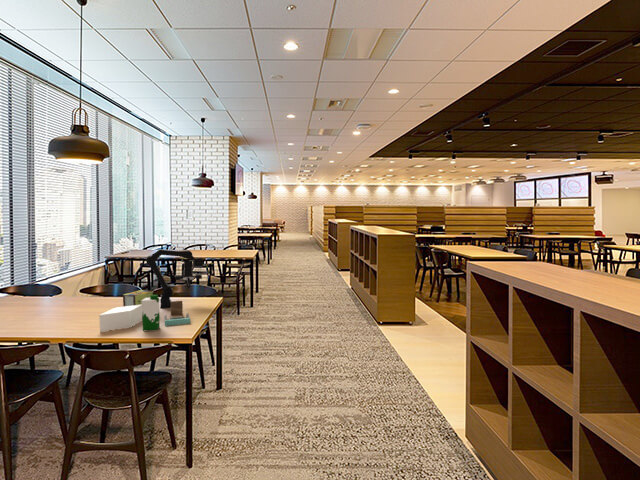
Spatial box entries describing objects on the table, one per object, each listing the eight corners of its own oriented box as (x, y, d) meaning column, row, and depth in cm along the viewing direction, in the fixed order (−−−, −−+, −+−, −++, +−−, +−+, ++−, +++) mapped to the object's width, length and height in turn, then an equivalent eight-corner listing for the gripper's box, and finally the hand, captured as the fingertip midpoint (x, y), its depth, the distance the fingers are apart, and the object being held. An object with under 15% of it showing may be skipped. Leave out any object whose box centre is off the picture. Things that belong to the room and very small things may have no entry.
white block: (151, 321, 246) (151, 305, 246) (108, 334, 221) (107, 316, 220) (135, 318, 253) (135, 302, 252) (92, 330, 227) (91, 313, 227)
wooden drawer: (170, 318, 254) (169, 301, 253) (183, 317, 257) (183, 300, 256) (169, 324, 241) (168, 306, 240) (183, 323, 244) (182, 305, 243)
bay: (164, 319, 251) (164, 314, 250) (188, 317, 256) (188, 312, 256) (165, 325, 237) (164, 320, 237) (190, 323, 242) (190, 318, 242)
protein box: (153, 313, 264) (153, 290, 263) (136, 319, 250) (135, 295, 249) (141, 312, 268) (140, 289, 266) (123, 318, 253) (122, 294, 252)
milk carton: (156, 331, 227) (155, 296, 225) (140, 331, 226) (139, 297, 224) (161, 326, 235) (160, 293, 234) (145, 326, 235) (144, 293, 233)
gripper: (201, 265, 297) (201, 285, 298) (175, 266, 292) (175, 287, 293) (201, 267, 287) (202, 288, 288) (174, 268, 281) (174, 290, 282)
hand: (188, 288), depth 288 cm, fingers closed
